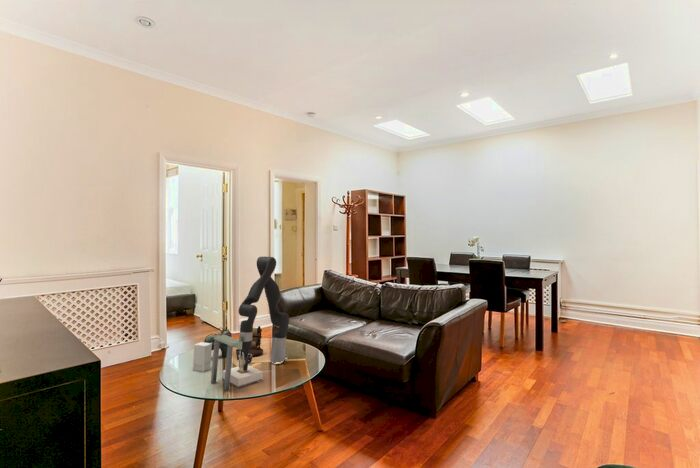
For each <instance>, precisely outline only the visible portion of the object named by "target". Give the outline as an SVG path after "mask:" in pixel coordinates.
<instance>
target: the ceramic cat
mask: <svg viewBox="0 0 700 468" xmlns="http://www.w3.org/2000/svg"><path fill="white" fill-rule="evenodd" d="M220 329H221V330H220ZM217 330H218V331H219V330H220V333H219V334H218V333H217V334H216V333H214V334H213V333H211V334H208V335H206V336H205V338H204V341H203V342H205V343H212V351H214V341H215V339H214V337H215V336H221V335H227V336H230V337H232V332H231V331H230V329H227V330H224V328H223V327H219V328H217ZM232 338H233V337H232ZM227 347H228V345H227V344H225V343H222V342H220V344H219V350H220V352H221V357H223V358H227Z"/></svg>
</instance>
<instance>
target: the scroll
mask: <svg viewBox="0 0 700 468" xmlns="http://www.w3.org/2000/svg"><path fill="white" fill-rule="evenodd" d="M262 331H263V329H262V328H261V325H258V327H253V332H252V333H253V337H252V347H251V348H250V353H251V354H253V356H256V355H257V356H258V355H261V354H263V353H264V349H263V348H261V344H262V341H261V339H262V337H263V336H262ZM257 356H256V357H257Z"/></svg>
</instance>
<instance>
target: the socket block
mask: <svg viewBox="0 0 700 468" xmlns="http://www.w3.org/2000/svg"><path fill="white" fill-rule="evenodd" d="M221 372H222V373H221V380H222V381H225V369H224V370H222V371H221ZM263 373H264V372H263V371H261V370H260V369H257V368H256V367H253V366H251V365H249V364H248V369H247V370H246V373H243V374H241V373H239V365H238V366H234V367H231V375H230V385H231V386H233V387H235V388H237V389H239V387H240V388H243V387H246V385H247V386H249V384H250V385H253V384H255V383H254V382H256V383H259V382H261V380H262V381H263V375H264V374H263ZM258 381H259V382H258ZM252 383H253V384H252Z"/></svg>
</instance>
